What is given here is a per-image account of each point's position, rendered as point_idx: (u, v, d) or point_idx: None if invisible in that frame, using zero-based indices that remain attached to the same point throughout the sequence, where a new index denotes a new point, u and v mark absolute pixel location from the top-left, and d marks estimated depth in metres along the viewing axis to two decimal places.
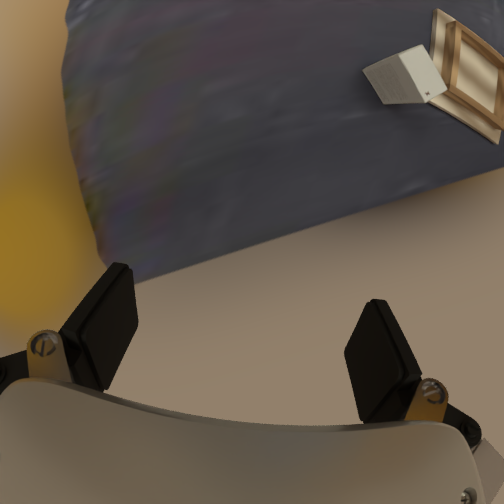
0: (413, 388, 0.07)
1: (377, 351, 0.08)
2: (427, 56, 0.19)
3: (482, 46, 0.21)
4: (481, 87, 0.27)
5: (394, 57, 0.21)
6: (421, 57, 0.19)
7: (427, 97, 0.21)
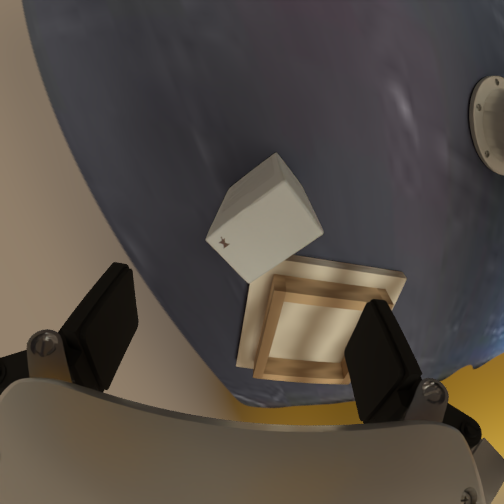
0: (413, 388, 0.07)
1: (377, 351, 0.08)
2: (300, 243, 0.16)
3: None
4: (303, 339, 0.34)
5: (281, 177, 0.16)
6: (293, 230, 0.16)
7: (217, 242, 0.17)
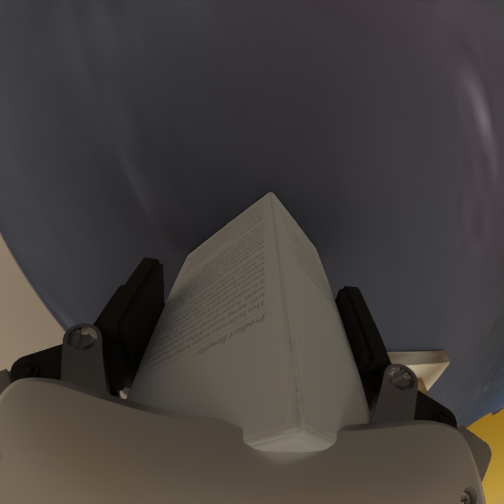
0: (382, 374, 0.07)
1: (347, 336, 0.09)
2: None
3: None
4: None
5: (287, 377, 0.04)
6: None
7: None
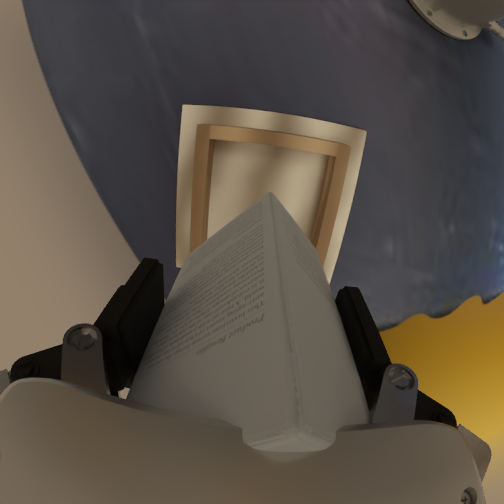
0: (382, 374, 0.07)
1: (347, 336, 0.09)
2: None
3: (324, 209, 0.25)
4: None
5: (286, 378, 0.04)
6: None
7: None
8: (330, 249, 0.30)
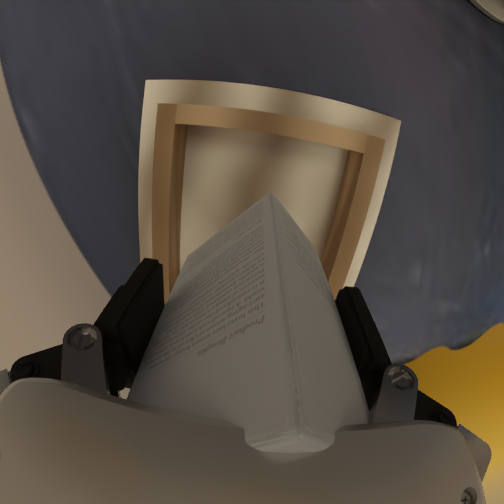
0: (382, 373, 0.07)
1: (347, 336, 0.09)
2: None
3: (342, 229, 0.17)
4: None
5: (286, 379, 0.04)
6: None
7: None
8: None
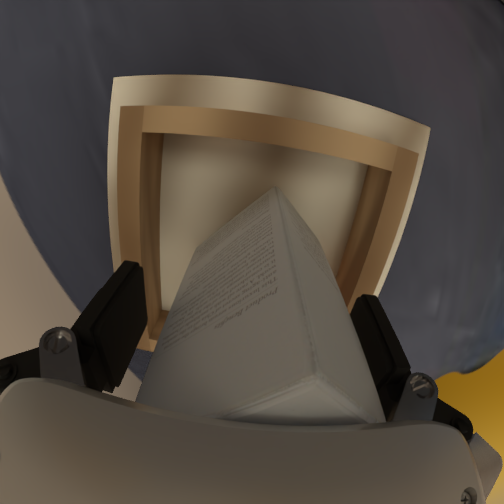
0: (402, 382, 0.07)
1: (366, 345, 0.09)
2: None
3: (360, 266, 0.14)
4: None
5: (302, 335, 0.05)
6: None
7: None
8: None
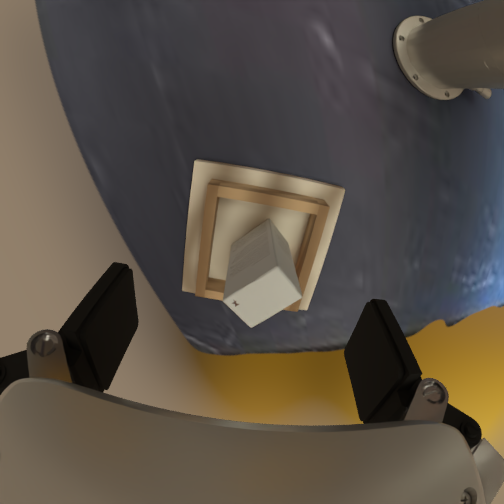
0: (413, 388, 0.07)
1: (377, 351, 0.08)
2: (286, 303, 0.24)
3: (305, 254, 0.33)
4: None
5: (275, 261, 0.24)
6: (282, 296, 0.24)
7: (230, 303, 0.25)
8: (309, 282, 0.38)
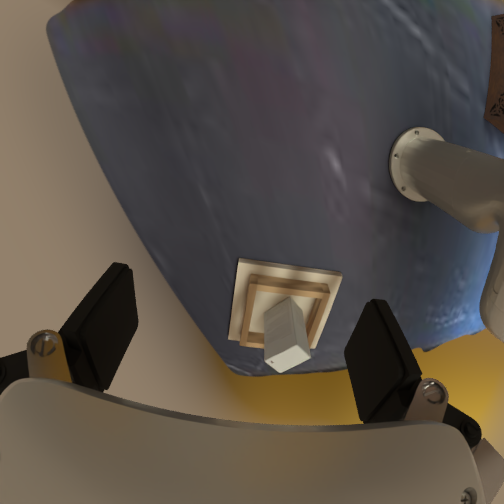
0: (413, 388, 0.07)
1: (377, 351, 0.08)
2: (301, 361, 0.40)
3: (313, 320, 0.48)
4: None
5: (295, 340, 0.39)
6: (299, 358, 0.40)
7: (269, 362, 0.40)
8: (316, 332, 0.53)
